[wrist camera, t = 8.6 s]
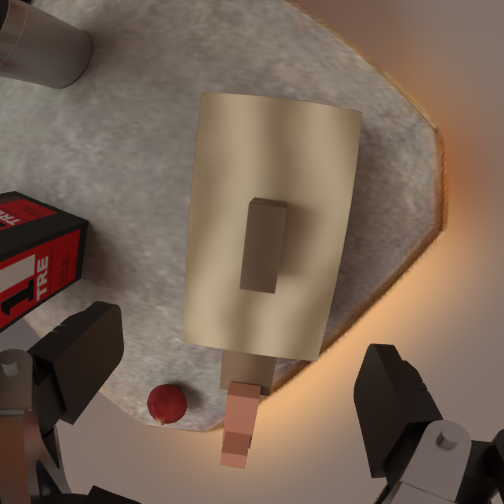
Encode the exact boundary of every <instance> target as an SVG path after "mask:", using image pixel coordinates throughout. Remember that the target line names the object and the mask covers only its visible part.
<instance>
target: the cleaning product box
mask: <svg viewBox="0 0 504 504" xmlns="http://www.w3.org/2000/svg"><path fill="white" fill-rule="evenodd" d="M87 226H88V220H85V219H83V218H80V217H77V216H75V215H72V214H70V213H67V212H65V211H62V210H60V209H57V208H55V207H52V206H50V205H47V204H45V203H42V202H40V201H38V200H35V199H33V198H30V197H28V196H25V195H23V194H21V193H18V192H16V191H13V192H7V193H3V194H0V333H1V332H2V331H4V330H5V329H7V328H8V327H9V326H11V325H12V324H14V323H15V322H16V321H18V320H19V319H20V318H22V317H24V316H25V315H26V314H28V313H29V312H31V311H32V310H34V309H35V308H37V307H38V306H40V305H41V304H43V303H44V302H46V301H47V300H49V299H50V298H52V297H53V296H55V295H56V294H58V293H59V292H61V291H62V290H64V289H65V288H67V287H68V286H70V285H71V284H73V283H75V282H76V281H78V280H79V279H81V271H82V262H83V254H84V246H85V239H86V233H87Z"/></svg>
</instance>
